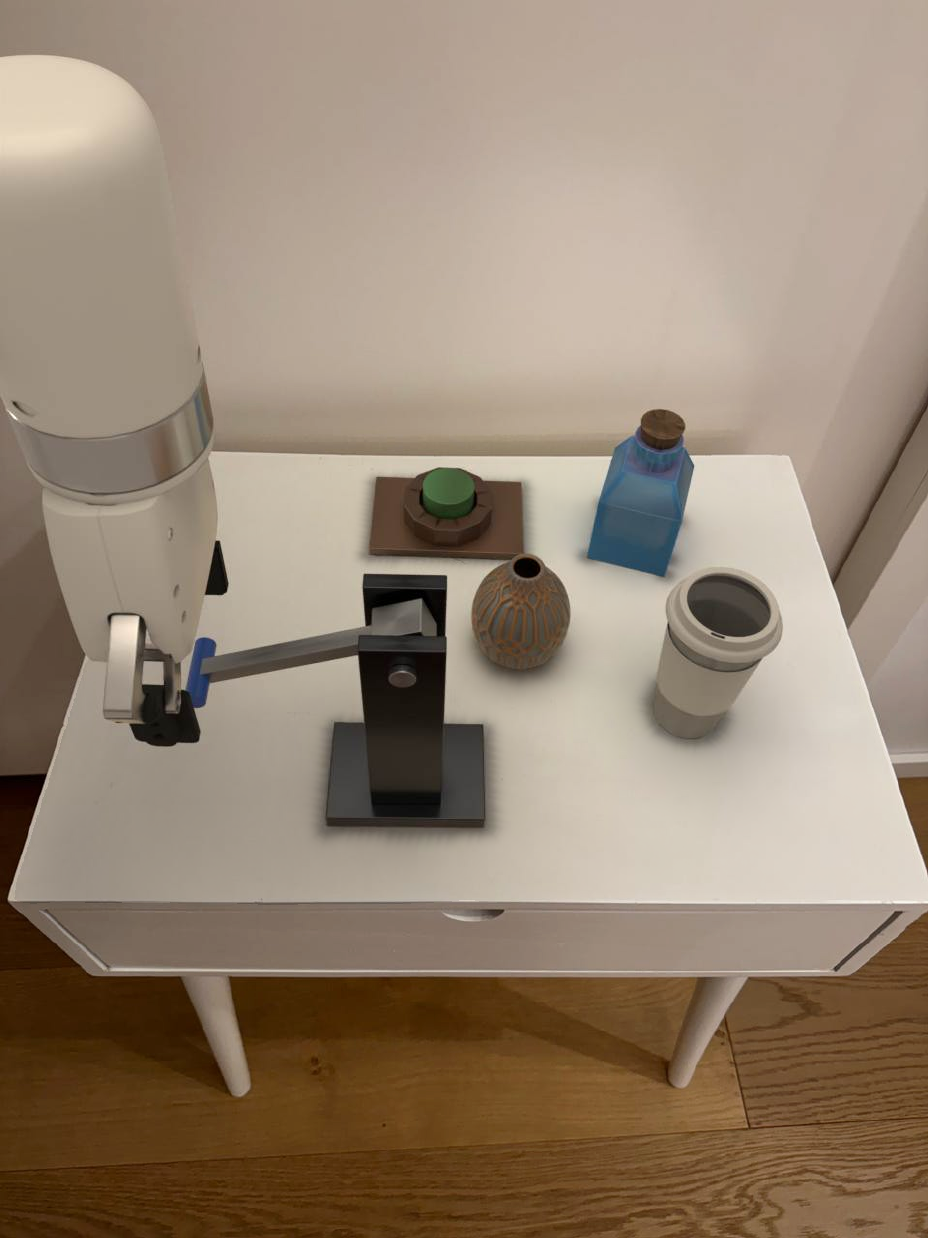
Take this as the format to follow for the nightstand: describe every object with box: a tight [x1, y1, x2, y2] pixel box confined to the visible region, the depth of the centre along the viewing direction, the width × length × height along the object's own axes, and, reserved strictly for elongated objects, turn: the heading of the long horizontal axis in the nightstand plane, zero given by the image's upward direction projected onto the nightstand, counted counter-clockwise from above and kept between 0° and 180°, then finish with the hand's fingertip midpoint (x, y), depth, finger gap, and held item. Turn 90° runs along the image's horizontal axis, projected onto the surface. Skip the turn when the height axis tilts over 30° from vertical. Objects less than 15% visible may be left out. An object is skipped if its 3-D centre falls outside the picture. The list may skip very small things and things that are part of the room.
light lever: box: [184, 598, 437, 709], centre depth 51 cm, size 14×4×2 cm, turn 91°
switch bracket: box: [325, 573, 486, 828], centre depth 56 cm, size 10×7×18 cm
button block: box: [368, 466, 525, 560], centre depth 76 cm, size 12×8×2 cm, turn 89°
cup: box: [652, 566, 784, 739], centre depth 62 cm, size 7×7×12 cm
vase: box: [470, 553, 572, 670], centre depth 66 cm, size 7×7×9 cm
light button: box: [423, 467, 474, 519], centre depth 74 cm, size 4×4×2 cm
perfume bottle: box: [586, 408, 695, 578], centre depth 72 cm, size 6×6×12 cm
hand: (185, 659), depth 52 cm, fingers open, 9 cm apart
